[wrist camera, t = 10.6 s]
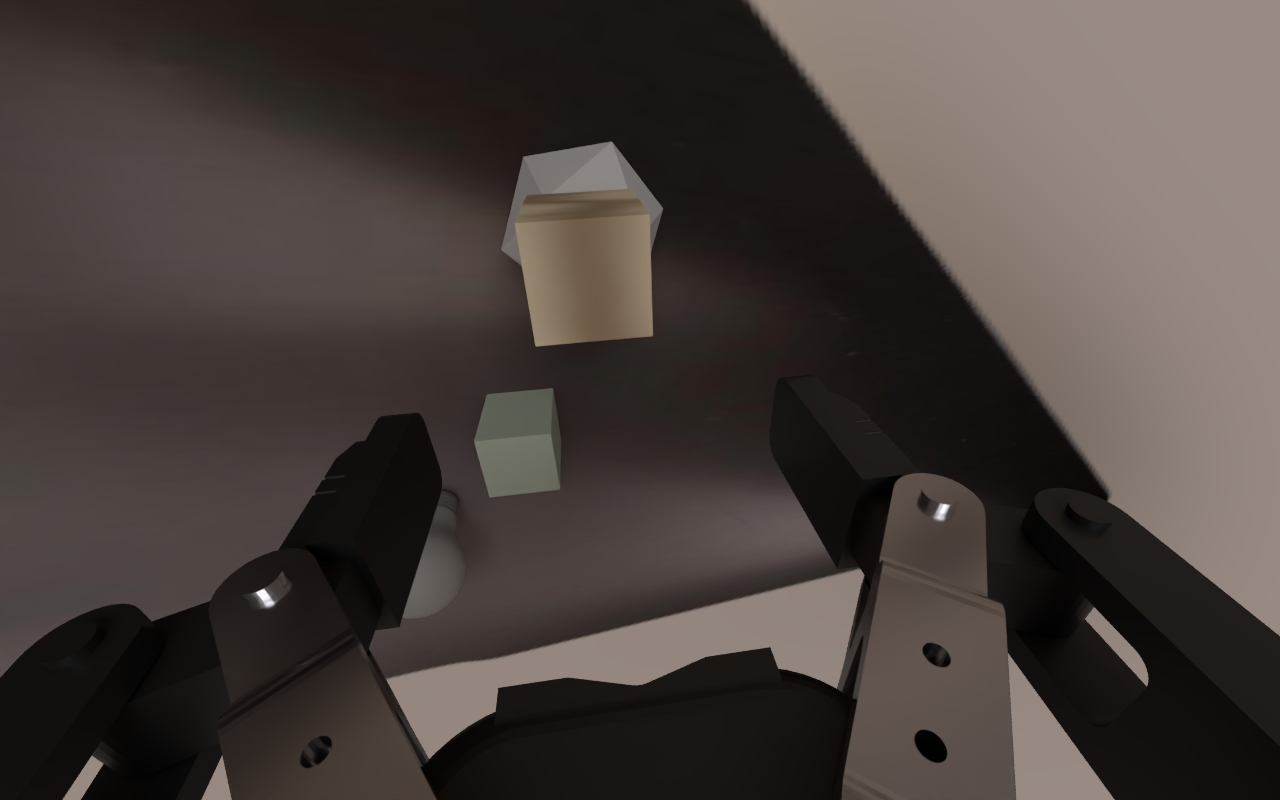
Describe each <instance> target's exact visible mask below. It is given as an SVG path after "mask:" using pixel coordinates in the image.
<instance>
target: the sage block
mask: <svg viewBox="0 0 1280 800" xmlns="http://www.w3.org/2000/svg"><path fill="white" fill-rule="evenodd" d="M474 443H475V447H476V450H477V454H478V458H479V461H480V465H481V468H482V472H483V476H484V479H485V483H486V486H487V490H488V494H489V497H498V496H507V495H516V494H525V493H534V492H543V491H552V490H560V474H561V435H560V429H559V423H558V416H557V410H556V403H555V397H554V391H553V388H549V389H539V390H528V391H518V392H507V393H497V394H487V396H486V400H485V403H484V407H483V411H482V414H481V418H480V422H479V425H478V429H477V433H476V436H475V440H474Z"/></svg>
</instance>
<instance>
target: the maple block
mask: <svg viewBox="0 0 1280 800" xmlns="http://www.w3.org/2000/svg"><path fill="white" fill-rule="evenodd" d="M515 229H516V235H517V240H518V246H519V252H520V258H521V264H522V270H523V275H524V281H525V287H526V293H527V299H528V305H529V311H530V316H531V322H532V328H533V334H534V340H535V346H546V345H558V344H569V343H580V342H592V341H603V340H614V339H626V338H637V337H648V336H653V322H652V285H651V248H650V214H649V213H648V211H647V210H646V208H645V207H644V205H643V204H642V202H641V201H640V199H639V198H638V197H637V195H636V194H635V192H634V191H633V189H617V190H601V191H585V192H569V193H553V194H537V195H526V198H525V200H524V202H523V205H522V207H521V209H520V212H519V214H518V216H517V219H516V221H515Z"/></svg>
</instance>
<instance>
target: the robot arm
mask: <svg viewBox="0 0 1280 800" xmlns="http://www.w3.org/2000/svg"><path fill="white" fill-rule="evenodd" d="M881 431H882V430H881V429H880V428H879V427H878V426H877V425H876V424H875V423H874V422H871V419H870V418H869V417H868V415H867V414H866V413H865V412H864V411H863V410H862V409H861V408H860V407H859V406H858V405H857V404H855V403H853V402H852V401H850V400H848V399H846V398H845V397H843V396H841V395H839V394H831V393H830V392H829V391H828V390H827V389H826V388H825V387H824V385H823V384H822V383H821V382H820V381H819V380H818V379H817V378H816V377H815V376H814V375H804V376H794V377H784V378H780V379H779V380H778V381H777V384H776V388H775V396H774V403H773V411H772V418H771V426H770V446H771V451H772V454H773V457H774V459H775V461H776V462H777V464H778V466H779V468H780V469H781V471H782V473H783V475H784V476H785V478H786V480H787V482H788V483H789V485H790V487H791V489H792V490H793V492H794V494H795V496H796V497H797V499H798V501H799V503H800V504H801V506H802V508H803V510H804V511H805V513H806V515H807V517H808V518H809V520H810V522H811V524H812V525H813V527H814V529H815V531H816V532H817V534H818V536H819V538H820V539H821V541H822V543H823V545H824V546H825V548H826V550H827V552H828V553H829V555H830V557H831V559H832V560H833V562H834V564H835V566H836V567H837V569H842V568H849V567H856V566H859V567H860V569H861V570H862V572H863V573H864V575H865V576H864V579H863V582H862V585H861V589H860V593H859V598H858V603H857V607H856V612H855V616H854V620H853V625H852V629H851V634H850V638H849V643H848V647H847V652H846V657H845V661H844V665H843V669H842V673H841V676H840V680H839V683H838V687H837V689H836V688H834V687H832V686H830V685H828V684H826V683H824V682H822V681H820V680H817V679H815V678H812V677H810V676H807V675H804V674H800V673H796V672H792V671H788V670H782V669H778V667H777V665H776V662H775V659H774V656H773V654H772V651H771V648H770V647H769V648H763V649H756V650H749V651H742V652H736V653H729V654H722V655H716V656H709V657H705V658H703V659H700V660H698V661H696V662H693V663H691V664H689V665H687V666H685V667H683V668H680V669H678V670H676V671H673V672H671V673H669V674H667V675H664V676H662V677H660V678H658V679H655V680H653V681H651V682H649V683H646V684H643V685H638V686H637V685H636V686H635V685H625V684H617V683H608V682H600V681H592V680H584V679H575V678H562V679H556V680H548V681H542V682H535V683H529V684H522V685H515V686H509V687H502V688H498V696H497V705H496V712H494V713H492V714H490V715H488V716H486V717H484V718H482V719H480V720H479V721H477V722H475V723H474V724H472V725H470V726H468V727H467V728H466V729H464V730H463V731H462V732H460V733H459V734H457V735H456V736H455V737H453V738H452V739H451V740H450V741H449V742H447V743H446V744H445V745H444V746H443V747H442V748H441V749H440V750H438V751H437V752H436V753H435V754H434V755H433V756H432V757H431V758H430V759H429V758H428V756H427V754H426V753H425V751H424V749H423V747H422V746H421V744H420V742H419V740H418V738H417V737H416V735H415V733H414V731H413V729H412V728H411V726H410V724H409V722H408V720H407V718H406V716H405V714H404V713H403V711H402V709H401V707H400V705H399V703H398V701H397V699H396V697H395V696H394V694H393V692H392V690H391V688H390V686H389V684H388V682H387V680H386V679H385V677H384V675H383V673H382V671H381V669H380V667H379V665H378V663H377V662H376V660H375V658H374V656H373V654H372V652H371V651H370V649H369V646H370V643H371V641H372V638H373V635H374V632H375V630H381V629H388V628H396V627H399V626H400V623H401V620H402V617H403V614H404V610H405V607H406V604H407V601H408V598H409V594H410V591H411V588H412V585H413V582H414V578H415V575H416V572H417V569H418V566H419V562H420V559H421V556H422V553H423V550H424V546H425V543H426V540H427V537H428V534H429V531H430V527H431V524H432V521H433V518H434V515H435V511H436V508H437V505H438V502H439V499H440V495H441V489H442V477H441V471H440V467H439V464H438V461H437V458H436V455H435V452H434V449H433V446H432V443H431V440H430V437H429V434H428V431H427V428H426V425H425V422H424V420H423V418H422V416H421V415H420V414H419V413H410V414H399V415H389V416H381V417H380V418H378V420H377V421H376V423H375V425H374V427H373V428H372V430H371V432H370V433H369V435H368V437H367V439H366V440H365V441H360V442H356V443H354V444H353V445H352V446H351V447H349V448H348V449H347V450H346V451H345V452H343V453H342V454H341V455H340V456H339V457H337V458H336V460H335V461H334V463H333V464H332V466H331V468H330V469H329V471H328V472H327V474H326V475H325V480H322V482H321V483H320V485H319V487H318V488H317V490H316V491H315V493H316V495H315V496H312V498H311V499H310V501H309V502H308V504H307V506H306V507H305V509H304V510H303V512H302V513H301V515H300V517H299V518H298V520H297V521H296V523H295V525H294V526H293V528H292V529H291V531H290V532H289V534H288V536H287V537H286V539H285V540H284V542H283V544H282V545H281V547H280V548H279V550H277V551H273V552H270V553H268V554H265V555H262V556H260V557H258V558H256V559H254V560H252V561H250V562H248V563H247V564H245V565H244V566H242V567H241V568H239V569H238V570H236V571H235V572H234V573H233V574H231V575H230V576H229V577H228V578H227V579H226V580H225V581H224V582H223V583H222V584H221V585H220V586H219V588H218V589H217V590H216V592H215V593H214V595H213V597H212V599H211V601H209V602H206V603H203V604H200V605H198V606H195V607H192V608H189V609H186V610H183V611H181V612H178V613H175V614H172V615H169V616H166V617H164V618H161V619H158V620H155V621H151V620H150V619H149V618H148V617H147V616H146V615H145V614H144V613H143V612H142V611H141V610H140V609H139V608H137V607H136V606H134V605H130V604H115V605H109V606H105V607H101V608H98V609H95V610H92V611H89V612H87V613H84V614H82V615H80V616H78V617H76V618H74V619H71V620H69V621H68V622H66V623H64V624H62V625H61V626H59V627H57V628H56V629H54V630H52V631H51V632H49V633H48V634H46V635H45V636H44V637H42V638H41V639H40V640H38V641H37V642H36V643H34V644H33V645H32V646H31V647H30V648H29V649H27V650H26V651H25V652H24V653H23V654H22V655H21V656H20V657H19V658H18V659H17V660H16V661H15V662H14V663H13V664H12V666H11V667H10V668H9V669H8V670H7V671H6V672H5V673H4V674H3V675H2V677H1V678H0V800H62V799H63V797H64V796H65V795H66V793H67V792H68V790H69V789H70V787H71V786H72V784H73V783H74V781H75V780H76V778H77V777H78V775H79V774H80V772H81V771H82V769H83V768H84V766H85V765H86V763H87V762H88V760H89V759H90V757H91V756H93V757H95V758H96V759H98V760H99V761H101V762H102V763H104V764H103V766H102V767H101V769H100V771H99V772H98V774H97V775H96V777H95V778H94V780H93V782H92V783H91V785H90V786H89V788H88V789H87V791H86V792H85V794H84V796H83V797H82V799H81V800H201V799H202V797H203V795H204V793H205V790H206V788H207V786H208V784H209V782H210V780H211V778H212V775H213V773H214V771H215V769H216V767H217V765H218V763H219V760H220V758H221V756H223V760H224V764H225V770H226V774H227V779H228V784H229V788H230V793H231V798H232V800H1016V788H1015V770H1014V753H1013V736H1012V720H1011V702H1010V685H1009V667H1008V653H1009V655H1010V656H1011V658H1012V659H1013V660H1014V662H1015V663H1016V664H1017V665H1018V667H1019V669H1020V670H1021V671H1022V673H1023V674H1024V675H1025V677H1026V678H1027V680H1028V681H1029V682H1030V684H1031V685H1032V686H1033V688H1034V689H1035V691H1036V692H1037V693H1038V695H1039V696H1040V697H1041V699H1042V700H1043V701H1044V703H1045V704H1046V706H1047V707H1048V708H1049V710H1050V711H1051V713H1052V714H1053V715H1054V717H1055V718H1056V719H1057V721H1058V722H1059V724H1060V725H1061V726H1062V728H1063V729H1064V731H1065V732H1066V733H1067V735H1068V736H1069V737H1070V739H1071V740H1072V742H1073V743H1074V744H1075V745H1076V747H1077V748H1078V750H1079V751H1080V753H1081V754H1082V755H1083V757H1084V758H1085V759H1086V761H1087V762H1088V763H1089V765H1090V766H1091V768H1092V769H1093V770H1094V772H1095V773H1096V775H1097V776H1098V777H1099V779H1100V780H1101V781H1102V783H1103V784H1104V786H1105V787H1106V788H1107V790H1108V791H1109V792H1110V794H1111V795H1112V796H1113V798H1114V799H1115V800H1280V636H1279V635H1278V634H1276V633H1275V632H1274V631H1272V630H1271V629H1270V628H1269V627H1268V626H1266V625H1265V624H1264V623H1262V622H1261V621H1260V620H1258V619H1257V618H1256V617H1255V616H1254V615H1253V614H1251V613H1250V612H1249V611H1248V610H1246V609H1245V608H1244V607H1243V606H1241V605H1240V604H1239V603H1237V602H1236V601H1235V600H1234V599H1233V598H1231V597H1230V596H1229V595H1228V594H1226V593H1225V592H1224V591H1223V590H1221V589H1220V588H1219V587H1218V586H1216V585H1215V584H1214V583H1213V582H1211V581H1210V580H1209V579H1208V578H1206V577H1205V576H1204V575H1202V574H1201V573H1200V572H1199V571H1198V570H1196V569H1195V568H1194V567H1193V566H1191V565H1190V564H1189V563H1188V562H1186V561H1185V560H1184V559H1183V558H1181V557H1180V556H1179V555H1178V554H1176V553H1175V552H1174V551H1173V550H1171V549H1170V548H1169V547H1168V546H1166V545H1165V544H1164V543H1163V542H1161V541H1160V540H1159V539H1158V538H1156V537H1155V536H1154V535H1153V534H1151V533H1150V532H1149V531H1148V530H1146V529H1145V528H1144V527H1143V526H1141V525H1140V524H1139V523H1138V522H1136V521H1135V520H1134V519H1133V518H1131V517H1130V516H1129V515H1128V514H1126V513H1125V512H1124V511H1122V510H1121V509H1119V508H1118V507H1116V506H1114V505H1112V504H1111V503H1109V502H1107V501H1105V500H1103V499H1101V498H1098V497H1096V496H1093V495H1091V494H1088V493H1084V492H1081V491H1077V490H1072V489H1064V488H1051V489H1046V490H1043V491H1041V492H1039V493H1038V494H1037V495H1036V497H1035V499H1034V500H1033V502H1032V504H1031V506H1030V508H1029V509H1020V508H1011V507H1003V506H994V505H986V504H982V503H981V501H980V500H979V499H978V498H977V497H976V496H975V494H973V493H972V492H971V491H970V490H969V489H967V488H966V487H964V486H962V485H961V484H959V483H957V482H955V481H953V480H950V479H948V478H945V477H942V476H938V475H933V474H927V473H921V472H920V471H919V470H918V469H917V468H916V467H915V466H914V465H913V463H912V462H911V461H910V460H909V459H908V458H907V457H906V456H905V455H904V454H903V453H902V452H901V451H900V450H899V449H898V447H897V446H896V445H895V444H894V443H893V442H892V441H891V440H890V439H889V438H888V437H887V436H886V435H885V434H882V432H881ZM1094 607H1095V608H1096V609H1097V610H1098V611H1099V612H1100V613H1101V614H1102V615H1103V616H1104V618H1105V619H1107V621H1108V622H1109V623H1110V624H1111V625H1112V626H1113V627H1114V628H1115V629H1116V630H1117V631H1118V632H1119V633H1120V634H1121V635H1122V636H1123V637H1124V638H1125V639H1126V640H1127V641H1128V643H1129V644H1130V645H1131V646H1132V647H1133V648H1134V649H1135V650H1136V651H1137V652H1138V654H1139V655H1140V657H1141V658H1142V660H1143V662H1144V663H1145V666H1146V668H1147V672H1148V677H1149V680H1148V686H1146V685H1145V684H1144V683H1143V682H1142V681H1141V680H1140V679H1139V678H1138V677H1137V676H1136V674H1135V673H1134V672H1133V671H1132V670H1131V669H1130V668H1129V667H1128V666H1127V665H1126V664H1125V662H1123V660H1122V659H1121V658H1120V657H1119V656H1118V655H1117V654H1116V653H1115V652H1114V651H1113V650H1112V648H1111V647H1110V646H1109V645H1108V644H1107V643H1106V642H1105V641H1104V640H1103V638H1102V637H1101V636H1100V635H1099V634H1098V633H1097V632H1096V631H1095V630H1094V629H1093V628H1092V626H1091V625H1090V624H1089V623H1087V621H1086V620H1085V618H1086V617H1087V615H1088V614H1089V613H1090V612H1091V610H1092V609H1093V608H1094Z"/></svg>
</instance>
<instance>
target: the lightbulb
mask: <svg viewBox="0 0 1280 800" xmlns="http://www.w3.org/2000/svg"><path fill="white" fill-rule="evenodd" d="M457 505H458V500H457V498H456V497H455V496H454V495H453V494H452V493H450V492H448V491H442V490H441V495H440V499H439V502H438V505H437V508H436V511H435V515H434V518H433V521H432V524H431V527H430V531H429V534H428V537H427V540H426V543H425V546H424V550H423V553H422V556H421V559H420V562H419V566H418V569H417V572H416V575H415V578H414V582H413V585H412V588H411V591H410V594H409V598H408V601H407V604H406V607H405V610H404V614H403V617H402V618H408V619H416V618H423V617H427V616H430V615H433V614H435V613H437V612H438V611H440V610H442V609H443V608H444V607H446V606H447V605H448V604H449V603H450V602H451V601H452V600H453V599H454V598H455V596H456V595H457V594H458V592H459V590H460V588H461V586H462V584H463V581H464V578H465V572H466V563H465V557H464V554H463V551H462V549H461V547H460V545H459V543H458V541H457V538H456V525H457V518H456V512H457Z"/></svg>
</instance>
